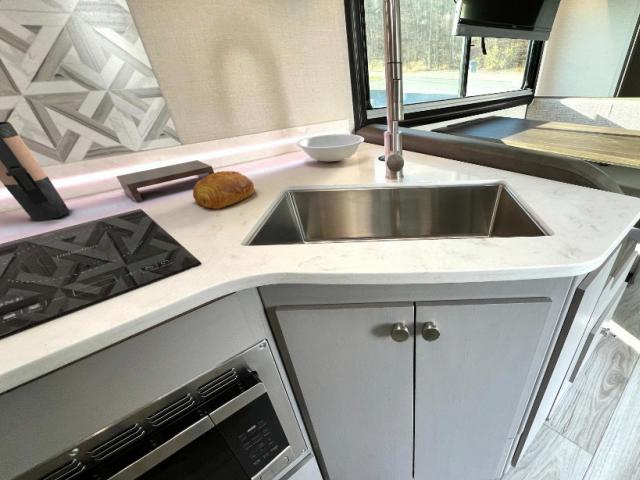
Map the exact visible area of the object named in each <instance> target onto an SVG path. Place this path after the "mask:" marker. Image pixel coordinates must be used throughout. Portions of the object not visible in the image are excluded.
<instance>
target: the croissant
mask: <svg viewBox="0 0 640 480" xmlns="http://www.w3.org/2000/svg"><path fill="white" fill-rule="evenodd" d="M254 192H255V184H254V182H253V181H252V180H251V179H250V178H249V177H248V176H246V175H245V174H242V173H241V172H240V171H239V172H238V171H233V170H221V171H216V172H214V173H213V174H210V175H209V176H207V177H205V178H203V179H201V178H200V179H199V180H198V181H197V182H196V183H195V185H194V186H193V190H192V197H193V199H194V201H195V203H196V204H197V205H199V206H202V207H204V208H209V209H216V210H217V209H218V210H219V209H223V208H225V207H228V206H231V205H234V204H236V203H238V202H241V201H243V200H244V199H247V198H248V197H250V196H252V195H253V193H254Z"/></svg>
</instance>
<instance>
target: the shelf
mask: <svg viewBox="0 0 640 480" xmlns="http://www.w3.org/2000/svg"><path fill="white" fill-rule="evenodd" d="M213 173H215V171H214V167H213V166H212V165H210V164H207V163H205V162H203V161H200V160H197V159H196V160H191V161H185V162H182V163H181V162H180V163H177V164H171V165H166V166H161V167H155V168H151V169H147V170H140V171H136V172H131V173H125V174H121V175H116V179H117V180H118V182H119V184H120V186H121V187H122V189H123V191H124V193H125V195H127V196H128V197H129V198H131V199H132V200H133V201H134V202H135V203H136V204H138V203H143V202H144V199H143V198H142V196H141V194H140V192H139V190H138V189H141V188H145V187H150V186H154V185H159V184H163V183H167V182H172V181H177V180H182V179H187V178H190V177H196V176H197V177H198V178H199V179H200V180H201V179H203V178H205V177H207V176H209V175H210V174H213Z"/></svg>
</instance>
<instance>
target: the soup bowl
mask: <svg viewBox="0 0 640 480" xmlns="http://www.w3.org/2000/svg"><path fill="white" fill-rule="evenodd" d="M363 142H365V138H364V137H363V136H361V135H358V134H352V133H351V134H350V133H331V134H321V135H313V136H309V137H305V138H302V139H300V140H298V141H297V142H296V146H297V147H298V148H300V149H302V150H303V152H304V153H305V154H306V155H307V156H308V157H310V158H311V159H313V160H316V161H320V162H338V161H343V160H346V159H349V158H351V157H352V156H354V155H355V154H356V153H357V152H358V150H359V148H360V145H361V143H363Z"/></svg>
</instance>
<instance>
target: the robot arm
mask: <svg viewBox="0 0 640 480" xmlns="http://www.w3.org/2000/svg"><path fill="white" fill-rule="evenodd" d="M0 160H1V162H2V163H3V164H4V166H5V167H6V168H7V171H8V173H6V175H7V176H13V178H14V179H15V180H16V182H17V183H18V184H19V186H20V187H21V188H22V190H23V191H24V192H25V194H26V195H27V196H28V198H29V199H30V200H31V202H32V203H33V204H39V203H44V202H48V201H49V200H48V199H47V198H46V196H45V195H44V193H43V192H42V191H41V189H40V188H39V186H38V185H37V184H36V182H35V181H34V180H33V178H32V177H31V175H30V174H29V173H28V172H27V170H26V169H25V168H24V167H23V166H22V164H21V163H20V161H19V160H18V158H17V157H16V156H15V154H14V153H13V152H12V150H11V149H10V147H9V146H8V145H7V144H6V142H5V141H4V139H3V138H2V137H1V135H0ZM16 166H18V167H16ZM11 167H12V168H11Z"/></svg>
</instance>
